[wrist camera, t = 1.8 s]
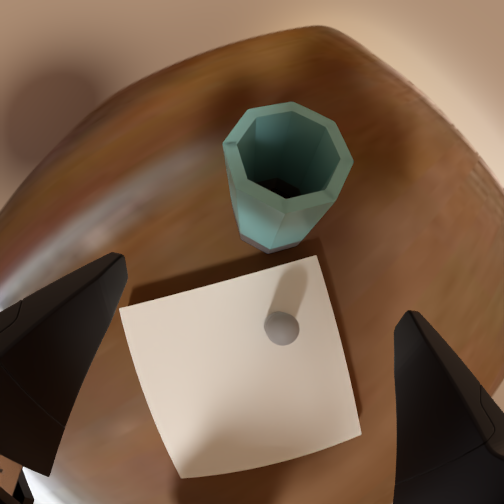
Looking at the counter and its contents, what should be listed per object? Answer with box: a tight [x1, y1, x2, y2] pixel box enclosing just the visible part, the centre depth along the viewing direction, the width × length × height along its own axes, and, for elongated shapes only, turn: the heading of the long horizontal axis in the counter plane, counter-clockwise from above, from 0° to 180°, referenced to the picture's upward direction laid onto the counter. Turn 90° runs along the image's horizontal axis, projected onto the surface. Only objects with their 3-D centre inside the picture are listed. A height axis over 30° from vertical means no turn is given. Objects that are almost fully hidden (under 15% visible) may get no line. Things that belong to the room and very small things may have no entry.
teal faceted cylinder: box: [223, 102, 354, 254], centre depth 17 cm, size 6×6×10 cm
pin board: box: [119, 255, 361, 478], centre depth 17 cm, size 15×15×5 cm
